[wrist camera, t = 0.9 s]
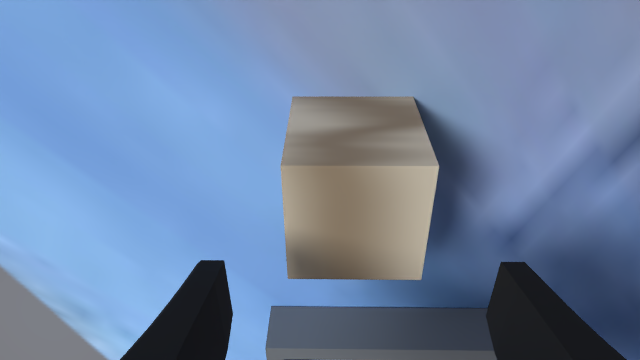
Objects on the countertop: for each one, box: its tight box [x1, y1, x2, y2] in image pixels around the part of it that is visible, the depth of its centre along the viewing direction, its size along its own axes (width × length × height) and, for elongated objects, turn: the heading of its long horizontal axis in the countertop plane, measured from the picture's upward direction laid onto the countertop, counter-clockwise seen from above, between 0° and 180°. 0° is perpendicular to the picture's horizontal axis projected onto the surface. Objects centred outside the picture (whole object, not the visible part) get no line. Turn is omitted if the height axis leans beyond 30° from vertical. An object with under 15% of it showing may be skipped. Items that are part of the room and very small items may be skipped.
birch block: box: [281, 97, 439, 280], centre depth 16 cm, size 4×4×5 cm
